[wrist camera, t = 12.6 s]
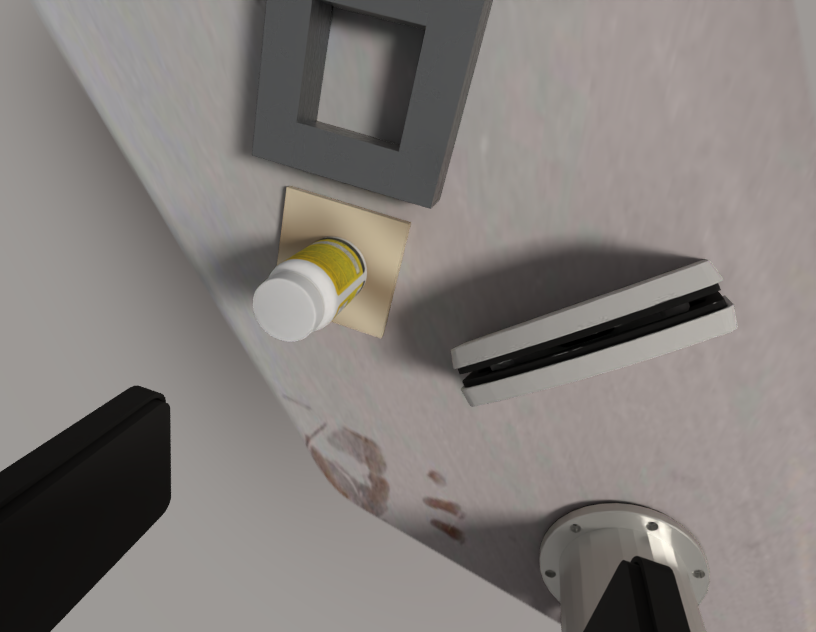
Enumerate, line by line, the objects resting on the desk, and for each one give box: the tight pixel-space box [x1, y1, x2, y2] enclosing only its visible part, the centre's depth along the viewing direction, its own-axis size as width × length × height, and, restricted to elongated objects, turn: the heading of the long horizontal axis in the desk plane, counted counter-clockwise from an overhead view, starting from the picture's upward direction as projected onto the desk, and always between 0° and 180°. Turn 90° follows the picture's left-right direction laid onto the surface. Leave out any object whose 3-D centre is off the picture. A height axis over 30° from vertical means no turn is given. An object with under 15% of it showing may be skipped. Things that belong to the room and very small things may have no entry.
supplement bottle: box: [253, 237, 367, 342], centre depth 32 cm, size 5×5×8 cm
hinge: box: [451, 259, 738, 407], centre depth 30 cm, size 17×5×10 cm, turn 118°
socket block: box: [252, 0, 493, 209], centre depth 30 cm, size 12×12×3 cm
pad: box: [277, 186, 411, 338], centre depth 36 cm, size 9×9×1 cm
